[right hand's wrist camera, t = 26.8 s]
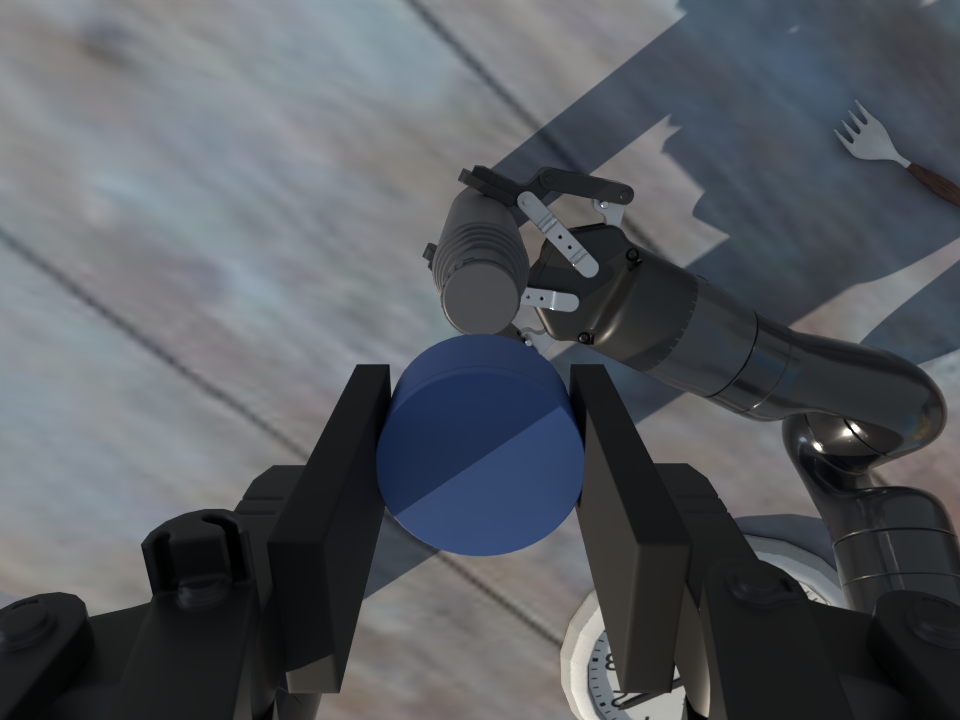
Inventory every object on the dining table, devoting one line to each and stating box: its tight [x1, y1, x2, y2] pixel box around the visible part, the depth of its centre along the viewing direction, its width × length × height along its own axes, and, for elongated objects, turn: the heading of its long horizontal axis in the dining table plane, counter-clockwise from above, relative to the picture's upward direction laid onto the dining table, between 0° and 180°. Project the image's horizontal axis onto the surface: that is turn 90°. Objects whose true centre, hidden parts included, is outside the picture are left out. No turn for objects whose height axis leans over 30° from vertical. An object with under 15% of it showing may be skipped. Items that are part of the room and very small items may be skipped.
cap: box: [376, 334, 585, 556], centre depth 14 cm, size 4×4×2 cm
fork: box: [834, 100, 960, 207], centre depth 44 cm, size 3×16×2 cm, turn 61°
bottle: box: [432, 187, 530, 335], centre depth 35 cm, size 5×5×23 cm
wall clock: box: [560, 534, 846, 720], centre depth 61 cm, size 30×2×30 cm
